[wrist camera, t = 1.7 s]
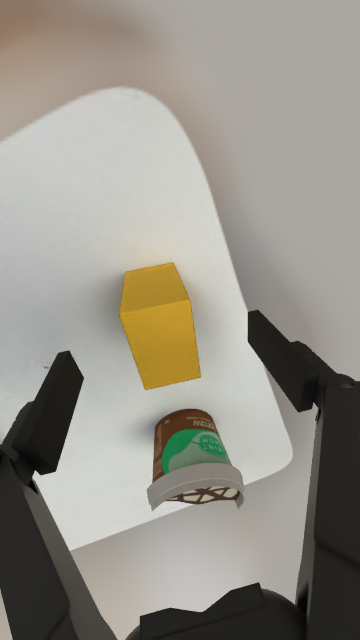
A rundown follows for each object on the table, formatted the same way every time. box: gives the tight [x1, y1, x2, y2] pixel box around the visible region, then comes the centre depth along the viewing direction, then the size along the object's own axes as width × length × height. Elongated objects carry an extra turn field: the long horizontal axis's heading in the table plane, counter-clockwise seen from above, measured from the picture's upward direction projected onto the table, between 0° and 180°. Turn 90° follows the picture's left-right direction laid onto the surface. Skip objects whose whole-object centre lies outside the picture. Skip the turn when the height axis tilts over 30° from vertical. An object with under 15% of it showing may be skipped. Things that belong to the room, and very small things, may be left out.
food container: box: [147, 409, 244, 512], centre depth 29 cm, size 12×6×10 cm, turn 68°
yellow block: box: [119, 263, 201, 390], centre depth 19 cm, size 7×4×8 cm, turn 9°
